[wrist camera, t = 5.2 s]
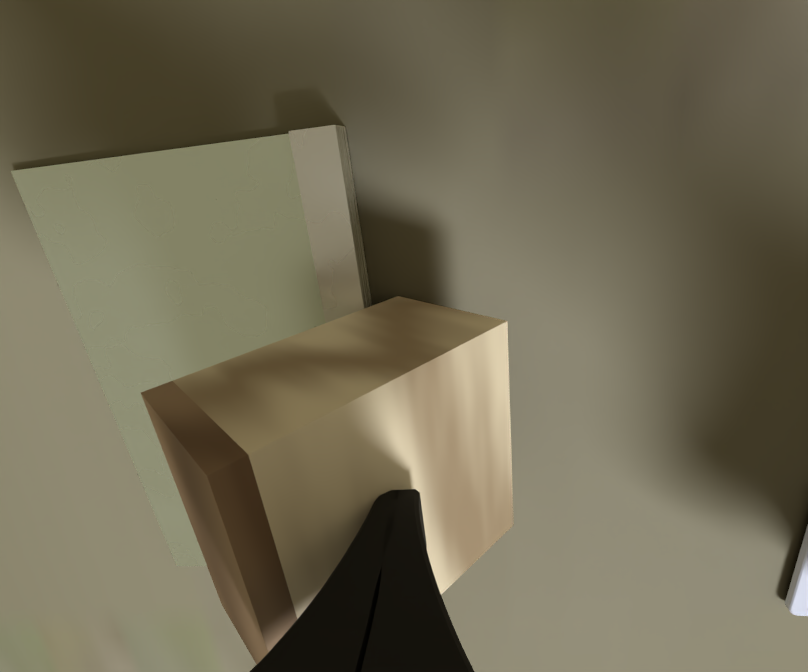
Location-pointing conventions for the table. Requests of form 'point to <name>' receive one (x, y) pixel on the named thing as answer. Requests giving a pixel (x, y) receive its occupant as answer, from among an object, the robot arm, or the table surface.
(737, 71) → the table surface
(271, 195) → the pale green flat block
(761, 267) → the table surface
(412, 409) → the wooden block
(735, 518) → the table surface
